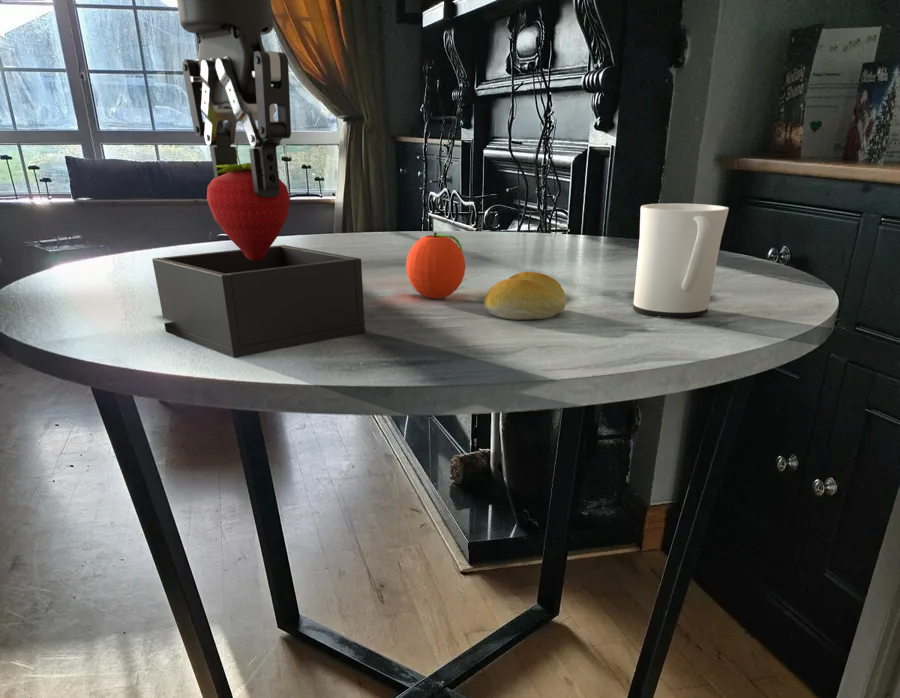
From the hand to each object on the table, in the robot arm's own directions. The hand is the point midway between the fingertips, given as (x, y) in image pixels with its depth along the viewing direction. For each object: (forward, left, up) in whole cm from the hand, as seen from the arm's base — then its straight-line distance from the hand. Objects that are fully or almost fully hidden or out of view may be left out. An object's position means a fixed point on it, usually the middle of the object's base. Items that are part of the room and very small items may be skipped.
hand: (247, 193), depth 71 cm
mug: (+38, -22, -12) cm, 46 cm away
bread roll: (+26, -11, -12) cm, 31 cm away
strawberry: (0, 0, -6) cm, 6 cm away
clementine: (+25, +2, -12) cm, 28 cm away
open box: (0, 0, -12) cm, 12 cm away
